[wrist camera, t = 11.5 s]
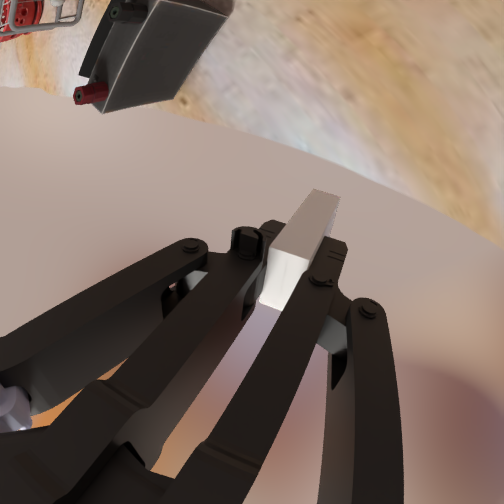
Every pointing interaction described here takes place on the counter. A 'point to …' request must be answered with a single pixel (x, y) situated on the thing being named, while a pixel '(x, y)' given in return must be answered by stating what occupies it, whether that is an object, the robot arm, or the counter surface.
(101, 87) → the voltmeter
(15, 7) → the newton's cradle
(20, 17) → the plant pot
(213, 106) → the counter surface
